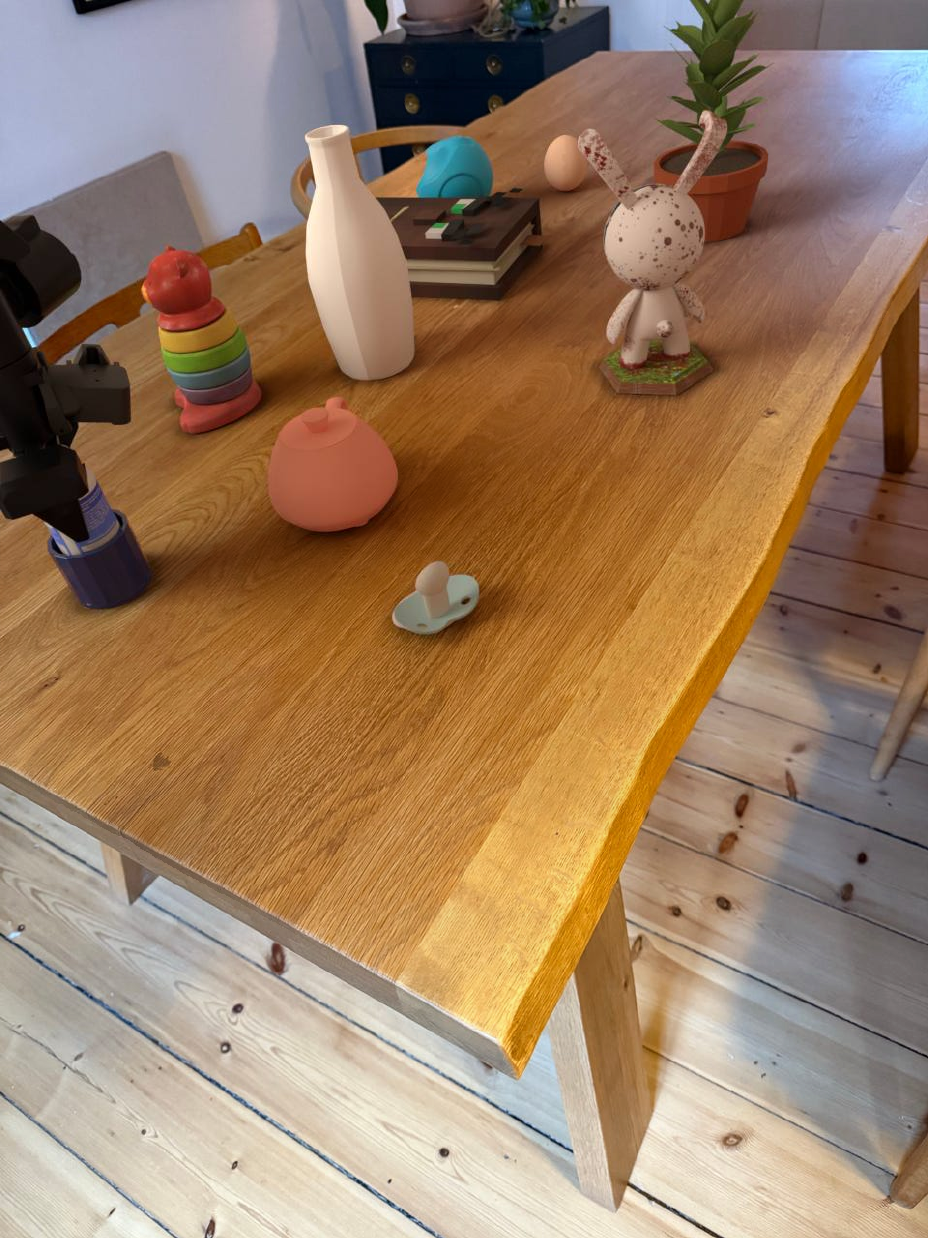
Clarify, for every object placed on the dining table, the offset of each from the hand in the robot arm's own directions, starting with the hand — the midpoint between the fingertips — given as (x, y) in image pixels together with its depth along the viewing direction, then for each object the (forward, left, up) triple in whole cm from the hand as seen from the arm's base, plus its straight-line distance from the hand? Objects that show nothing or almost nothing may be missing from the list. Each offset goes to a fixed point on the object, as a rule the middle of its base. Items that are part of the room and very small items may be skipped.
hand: (81, 522), depth 77 cm
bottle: (+35, +26, -7) cm, 44 cm away
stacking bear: (+16, +28, -7) cm, 32 cm away
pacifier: (+25, -19, -7) cm, 32 cm away
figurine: (+60, +5, -7) cm, 60 cm away
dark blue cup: (0, 0, -7) cm, 7 cm away
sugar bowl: (+23, +1, -7) cm, 24 cm away
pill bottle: (0, 0, -3) cm, 3 cm away
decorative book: (+51, +47, -7) cm, 69 cm away
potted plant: (+86, +34, -7) cm, 92 cm away
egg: (+79, +62, -7) cm, 100 cm away
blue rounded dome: (+61, +63, -7) cm, 87 cm away
